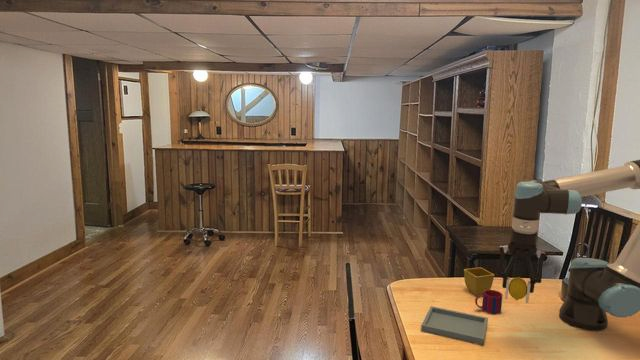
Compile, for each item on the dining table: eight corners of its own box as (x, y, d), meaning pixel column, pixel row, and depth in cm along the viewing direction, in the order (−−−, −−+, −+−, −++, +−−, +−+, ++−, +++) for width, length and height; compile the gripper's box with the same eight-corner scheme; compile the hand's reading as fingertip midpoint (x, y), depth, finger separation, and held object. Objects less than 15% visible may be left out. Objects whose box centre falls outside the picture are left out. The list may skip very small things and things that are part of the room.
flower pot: (461, 289, 188) (463, 268, 186) (479, 287, 190) (481, 267, 189) (474, 298, 180) (476, 277, 178) (493, 295, 182) (495, 274, 181)
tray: (487, 323, 159) (487, 317, 159) (483, 345, 145) (483, 339, 144) (430, 311, 167) (430, 306, 167) (421, 331, 153) (421, 325, 153)
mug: (503, 314, 166) (505, 297, 165) (477, 314, 166) (478, 297, 165) (496, 306, 173) (498, 289, 172) (470, 306, 173) (472, 289, 171)
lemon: (510, 295, 151) (512, 272, 149) (527, 300, 147) (530, 276, 146) (505, 300, 146) (507, 277, 145) (523, 305, 143) (525, 281, 142)
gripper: (492, 229, 143) (485, 298, 147) (557, 238, 136) (548, 310, 140) (493, 223, 150) (487, 289, 154) (556, 231, 142) (547, 300, 147)
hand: (516, 299), depth 147 cm, fingers closed on lemon, 5 cm apart
